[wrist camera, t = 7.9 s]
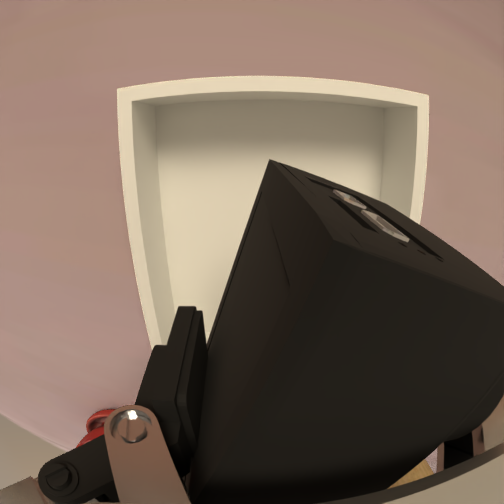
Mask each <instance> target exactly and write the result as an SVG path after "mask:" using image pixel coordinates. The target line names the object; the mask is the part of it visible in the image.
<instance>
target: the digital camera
mask: <svg viewBox="0 0 504 504" xmlns="http://www.w3.org/2000/svg"><path fill="white" fill-rule="evenodd" d="M207 351H208V361H207V369H206V377H205V386H204V394H203V402H202V411H201V420H200V429H199V439H198V447H197V449H196V452H195V454H194V456H193V461H192V464H191V466H190V473H188V474H187V475H185V476H184V477H182V478H183V481H184V483H185V485H186V487H187V490H188V492H189V495H190V498H189V499H190V501H191V503H192V504H318V503H325V502H331V501H336V500H342V499H347V498H352V497H357V496H361V495H366V494H370V493H374V492H378V491H382V490H385V489H387V488H389V487H390V486H392V485H393V484H394V483H396V482H397V481H398V480H399V479H401V478H402V477H403V476H405V475H406V474H407V473H408V472H410V471H411V470H412V469H413V468H415V467H416V466H417V465H418V464H419V463H421V462H422V461H423V460H424V459H425V458H426V457H427V456H429V455H430V454H431V453H432V452H433V451H434V450H435V449H436V448H437V447H439V446H440V445H441V444H442V443H443V442H444V441H449V440H454V439H458V438H460V437H462V436H465V435H467V434H469V433H470V432H472V431H473V430H475V429H476V428H478V427H479V426H480V425H481V424H482V423H483V422H484V421H485V420H486V419H487V418H488V417H489V416H490V415H491V414H492V412H493V411H494V410H495V408H496V407H497V406H498V404H499V402H500V401H501V399H502V397H503V395H504V286H502V285H501V284H500V283H499V282H498V281H496V280H495V279H494V278H493V277H491V276H490V275H489V274H487V273H486V272H485V271H484V270H482V269H481V268H480V267H478V266H477V265H476V264H474V263H473V262H472V261H470V260H469V259H468V258H466V257H465V256H464V255H462V254H461V253H460V252H458V251H457V250H455V249H454V248H453V247H451V246H450V245H448V244H447V243H446V242H444V241H443V240H441V239H440V238H438V237H437V236H436V235H434V234H433V233H431V232H430V231H428V230H427V229H425V228H424V227H422V226H421V225H419V224H418V223H416V222H415V221H413V220H412V219H410V218H409V217H407V216H405V215H404V214H402V213H401V212H399V211H398V210H396V209H394V208H393V207H391V206H389V205H388V204H386V203H383V202H381V201H379V200H376V199H374V198H372V197H369V196H367V195H365V194H362V193H360V192H357V191H355V190H352V189H350V188H348V187H345V186H343V185H340V184H337V183H335V182H332V181H330V180H327V179H325V178H322V177H319V176H317V175H314V174H311V173H309V172H306V171H303V170H300V169H298V168H295V167H292V166H289V165H286V164H283V163H280V162H277V161H274V160H271V159H269V161H268V164H267V167H266V170H265V173H264V176H263V179H262V181H261V184H260V187H259V190H258V193H257V196H256V199H255V202H254V204H253V207H252V210H251V213H250V216H249V219H248V222H247V225H246V228H245V231H244V234H243V237H242V240H241V242H240V245H239V248H238V251H237V254H236V257H235V260H234V263H233V266H232V269H231V272H230V275H229V278H228V281H227V284H226V287H225V290H224V293H223V296H222V299H221V302H220V305H219V308H218V311H217V314H216V317H215V320H214V323H213V326H212V329H211V332H210V335H209V338H208V341H207Z"/></svg>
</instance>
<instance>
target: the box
mask: <svg viewBox="0 0 504 504" xmlns="http://www.w3.org/2000/svg"><path fill="white" fill-rule="evenodd" d="M117 107H118V132H119V149H120V163H121V174H122V184H123V194H124V203H125V211H126V219H127V226H128V233H129V240H130V246H131V252H132V258H133V264H134V270H135V275H136V280H137V286H138V291H139V296H140V300H141V305H142V310H143V314H144V319H145V323H146V327H147V332H148V336H149V340H150V344H151V348H152V350H153V348H154V346H155V345H167V341H168V338H169V335H170V331H171V328H172V325H173V322H174V318H175V315H176V312H177V309H178V306H196V309H197V310H202V312H203V319H204V327H205V335H206V343H207V341H208V338H209V335H210V332H211V329H212V326H213V323H214V320H215V317H216V314H217V311H218V308H219V305H220V302H221V299H222V296H223V293H224V290H225V287H226V284H227V281H228V278H229V275H230V272H231V269H232V266H233V263H234V260H235V257H236V254H237V251H238V248H239V245H240V242H241V240H242V237H243V234H244V231H245V228H246V225H247V222H248V219H249V216H250V213H251V210H252V207H253V204H254V202H255V199H256V196H257V193H258V190H259V187H260V184H261V181H262V179H263V176H264V173H265V170H266V167H267V164H268V161H269V159H271V160H274V161H277V162H280V163H283V164H286V165H289V166H292V167H295V168H298V169H300V170H303V171H306V172H309V173H311V174H314V175H317V176H319V177H322V178H325V179H327V180H330V181H332V182H335V183H337V184H340V185H343V186H345V187H348V188H350V189H352V190H355V191H357V192H360V193H362V194H365V195H367V196H369V197H372V198H374V199H376V200H379V201H381V202H383V203H386V204H388V205H389V206H391V207H393V208H394V209H396V210H398V211H399V212H401V213H402V214H404V215H405V216H407V217H409V218H410V219H412V220H413V221H415V222H416V223H418V224H419V225H420V220H421V213H422V206H423V198H424V189H425V179H426V167H427V153H428V133H429V95H426V94H421V93H417V92H412V91H407V90H402V89H397V88H391V87H386V86H380V85H373V84H366V83H359V82H351V81H343V80H333V79H322V78H308V77H289V76H227V77H208V78H194V79H183V80H173V81H164V82H156V83H149V84H142V85H136V86H130V87H124V88H118V89H117Z"/></svg>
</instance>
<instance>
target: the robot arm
mask: <svg viewBox="0 0 504 504" xmlns="http://www.w3.org/2000/svg"><path fill="white" fill-rule="evenodd" d="M207 361H208V351H207V343H206V335H205V327H204V319H203V312H202V310H197V309H196V306H178V309H177V312H176V315H175V318H174V322H173V325H172V328H171V331H170V335H169V338H168V341H167V345H155V346H154V348H153V350H152V353H151V356H150V359H149V362H148V365H147V368H146V371H145V374H144V377H143V380H142V383H141V386H140V390H139V393H138V396H137V399H136V402H135V405H127V406H123V407H120V408H118V409H116V410H114V411H113V412H111V414H110V415H109V416H108V417H107V418H106V421H105V423H104V434H103V435H101V436H99V437H97V438H95V439H93V440H91V441H89V442H87V443H85V444H83V445H81V446H79V447H77V448H75V449H73V450H71V451H69V452H67V453H65V454H62V455H60V456H58V457H56V458H54V459H52V460H50V461H48V462H47V463H45V465H43V467H42V468H41V469H40V472H39V474H38V477H37V478H35V479H33V478H32V477H31V476H30V477H28V478H26V479H24V480H22V481H19V482H17V483H15V484H13V485H10V486H8V487H6V488H3V489H1V490H0V504H192V503H191V501H190V499H189V498H190V495H189V492H188V490H187V487H186V485H185V483H184V481H183V478H182V477H184V476H185V475H187V474H188V473H190V466H191V464H192V461H193V456H194V454H195V452H196V449H197V447H198V439H199V429H200V420H201V411H202V402H203V394H204V386H205V377H206V369H207ZM318 504H504V395H503V397H502V399H501V401H500V402H499V404H498V406H497V407H496V408H495V410H494V411H493V412H492V414H491V415H490V416H489V417H488V418H487V419H486V420H485V421H484V422H483V423H482V424H481V425H480V426H479V427H478V428H476V429H475V430H473V431H472V432H470V433H469V434H467V435H465V436H462V437H460V438H458V439H454V440H449V441H444V442H443V443H442V444H441V445H440V446H439V447H437V470H436V473H435V474H432V475H430V476H427V477H424V478H421V479H418V480H415V481H412V482H409V483H406V484H403V485H399V486H396V487H393V488H389V489H385V490H382V491H378V492H374V493H370V494H366V495H361V496H357V497H352V498H347V499H342V500H336V501H331V502H325V503H318Z"/></svg>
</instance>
